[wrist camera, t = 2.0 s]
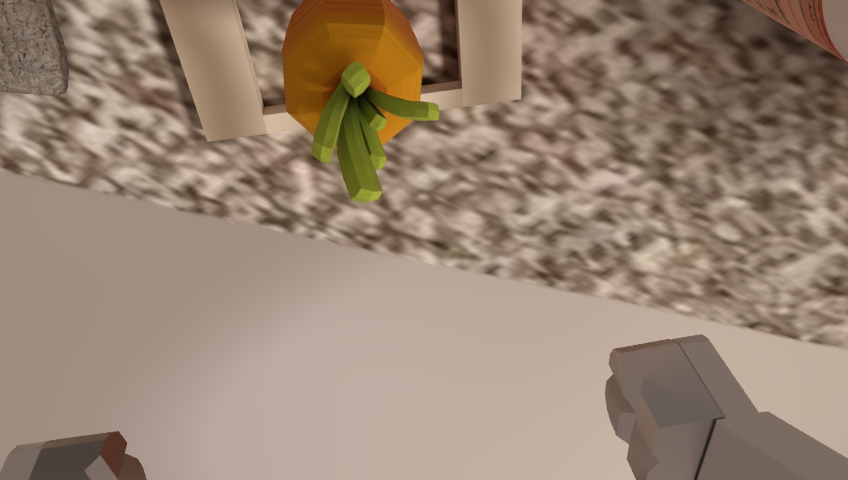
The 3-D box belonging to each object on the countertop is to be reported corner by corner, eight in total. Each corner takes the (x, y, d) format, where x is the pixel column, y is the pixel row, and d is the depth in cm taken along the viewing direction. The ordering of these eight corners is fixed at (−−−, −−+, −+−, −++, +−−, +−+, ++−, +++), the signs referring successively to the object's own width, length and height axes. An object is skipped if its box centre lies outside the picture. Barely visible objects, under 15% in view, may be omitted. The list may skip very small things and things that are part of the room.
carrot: (314, -88, 27) (305, 36, 15) (418, -34, 29) (482, 113, 17) (275, 19, 29) (241, 197, 17) (373, 61, 31) (401, 249, 19)
